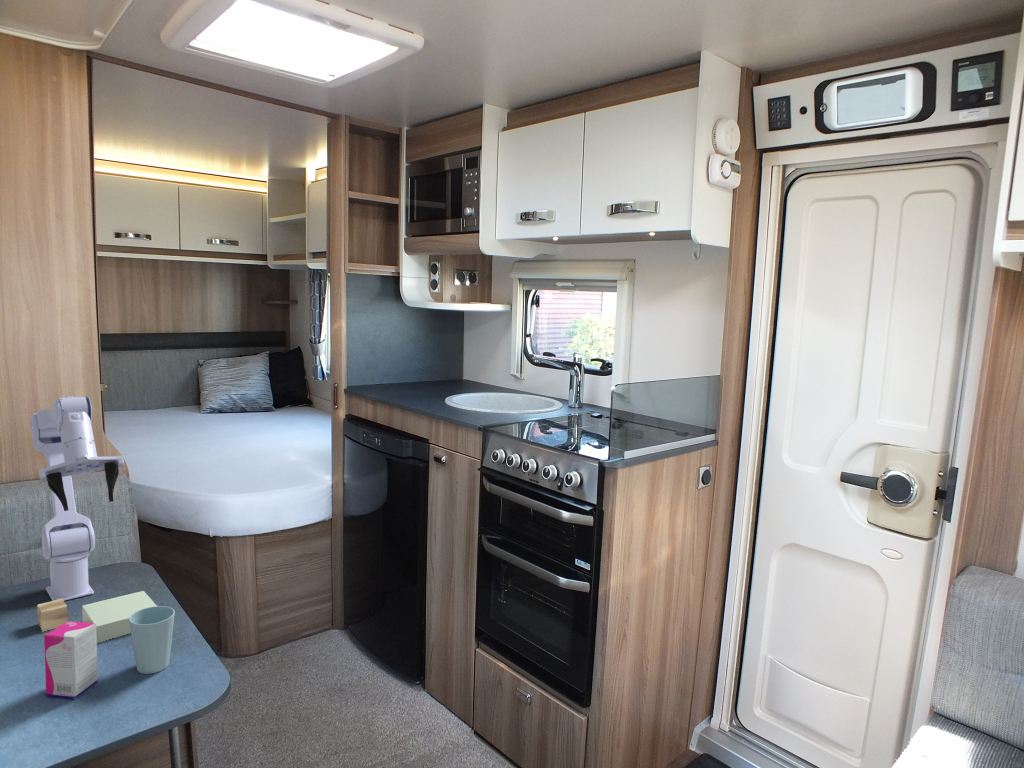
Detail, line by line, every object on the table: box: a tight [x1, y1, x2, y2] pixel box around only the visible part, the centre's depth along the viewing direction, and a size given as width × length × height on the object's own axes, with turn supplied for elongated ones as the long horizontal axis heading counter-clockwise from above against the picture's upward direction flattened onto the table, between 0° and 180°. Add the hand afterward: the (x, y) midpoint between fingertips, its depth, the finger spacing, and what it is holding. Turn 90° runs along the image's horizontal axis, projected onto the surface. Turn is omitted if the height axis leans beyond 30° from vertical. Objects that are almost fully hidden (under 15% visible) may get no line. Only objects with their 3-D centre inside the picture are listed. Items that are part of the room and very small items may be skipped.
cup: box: [129, 605, 176, 675], centre depth 127 cm, size 8×8×10 cm
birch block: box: [36, 599, 69, 633], centre depth 141 cm, size 4×4×4 cm
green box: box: [81, 590, 158, 644], centre depth 143 cm, size 12×12×4 cm
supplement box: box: [43, 620, 99, 700], centre depth 118 cm, size 6×6×12 cm
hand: (89, 503), depth 132 cm, fingers open, 7 cm apart
